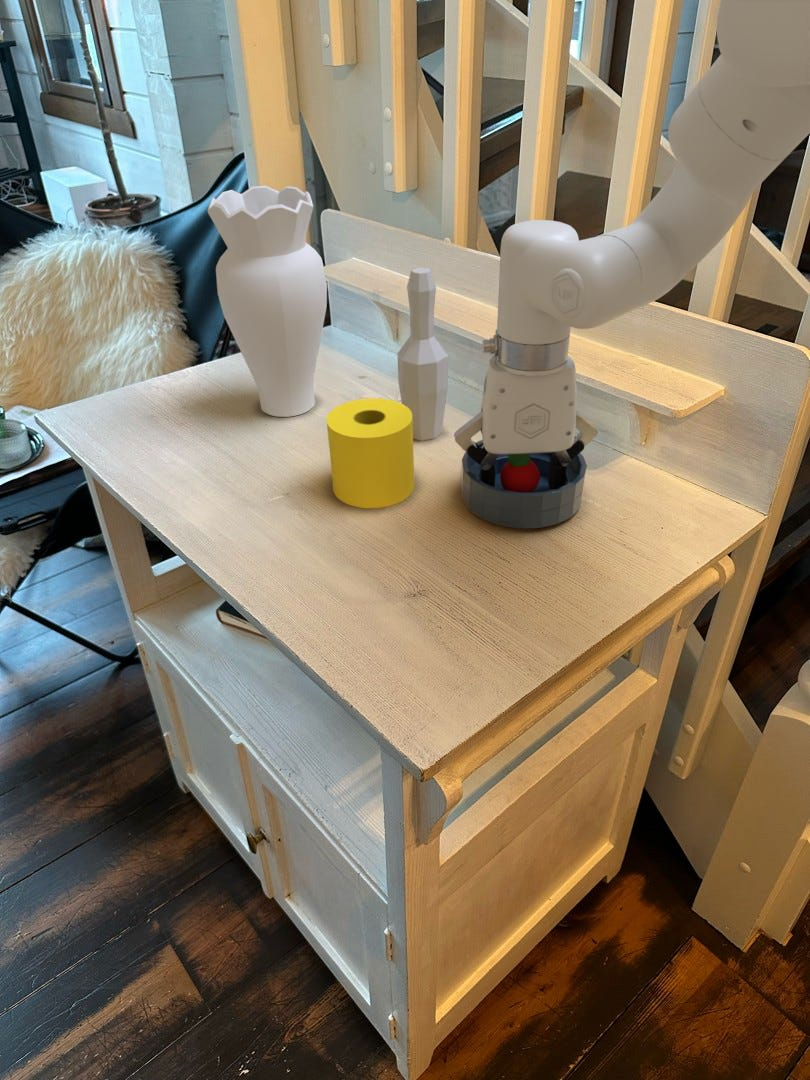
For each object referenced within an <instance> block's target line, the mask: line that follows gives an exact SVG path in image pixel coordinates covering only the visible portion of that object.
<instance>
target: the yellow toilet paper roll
mask: <svg viewBox="0 0 810 1080" xmlns="http://www.w3.org/2000/svg"><path fill="white" fill-rule="evenodd" d="M326 426H327V427H326V428H327V438H328V447H329V449H328V450H329V458H330V459H329V460H330V468H331V477H332V487H333V488H332V489H333V493H334V495H335V496H336V498H337V499H338V500H339V501H341V502H342V503H344V504H346V505H348V506H351V507H354V508H360V509H381V508H387V507H391V506H394V505H397V504H400V503H401V502H403V501H404V500H406V499H407V498H408V497H410V495H412V493H413V491H414V490H415V463H414V462H415V461H414V459H415V458H414V438H413V419H412V412H411V410H410V409H409V408H408V407H407V406H405V405H403V404H402V402H399V401H396V400H393V399H387V398H378V397H373V398H372V397H369V398H360V399H359V398H358V399H355V400H350V401H347V402H344V403H341V404H339V405H338V406H335V407H334V408H332V409H331V410H330V411H329V412H328V414H327V416H326Z"/></svg>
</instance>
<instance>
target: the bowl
mask: <svg viewBox="0 0 810 1080" xmlns="http://www.w3.org/2000/svg"><path fill="white" fill-rule="evenodd" d="M475 443H477V444H478V445H479V446H480V447H482V446H483V439H481V440H478V441H476V442H475ZM554 453H555V452H549V453H529V454H530V458H531V461H532V462H534V463H535V464H536V466H537V467H538V470H539V473H540V480H539V484H538V486H537V488H536V489H535V490H534V491H533V492H532V493H520V492H513V491H506V490H505V489H504V488H503V486H502V484H501V480H500V475H501V471H502V468H503V466H504V465H505V464H506V463H507V462H508V456H509V455H510V454H499V455H498V457H497V458H496V460H495V461H494V467H495V487H492V486H489V485H487V484H485V483H484V482H482V481H480V475H481V466H480V465H479V464H478V463H477V462H476V461H474V460H473V459H472V458H471V457H470V456H469V455H468V454H467V452H466V451H465V452H464V454H463V456H462V458H461V479H460V480H461V482H460V489H461V491H460V493H461V501H462V502H463V504H464V505H465V506H466V508H467V509H468V510H469V512H471V513H473V515H475V516H477V517H479V518H480V519H481V520H484V521H486V522H489V523H492V524H495V525H498V526H501V527H507V528H514V529H541V528H545V527H546V528H547V527H550V526H554V525H558V524H561V523H562V522H564V521H567V520H568V519H570V518H572V517H574V515H575V514H576V513H577V512H578V511H579V510H580V509H581V507H582V503H583V499H584V493H585V492H584V491H585V485H586V478H587V470H588V469H587V468H588V464H587V462H586V459H585V457H584V455H583V454H582V452H580V453H579V454H578V455H577V456H576V457H574V458H573V459H572V460H571V463H570V465H569V466H567V467H566V476H565V484H564V486H560V488H558V489H554V490H550V487H549V484H548V479H549V469H550V458H551V457H552V454H554Z"/></svg>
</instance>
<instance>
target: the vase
mask: <svg viewBox="0 0 810 1080" xmlns="http://www.w3.org/2000/svg"><path fill="white" fill-rule="evenodd" d="M313 210H314V203H313V200H312V196H311V194H310V192H308V190H307V191H305V192H304V191H302V190H301V189H300V188H299V187H298V186H291V185H285V187H284V188H282V189H280V190H276V189H274V188H272V187H269V186H268V185H256V186H252V187H250V188H248V189H246V190H245V191H244V192H242V193H240V192H237V191H235V190H233V189H229V190H226V191H222V192H221V193H220V194H219V195H218V196H217V197H216V198H215V197H212V198H211V200H210V202H209V205H208V207H207V211H206V212H207V214H208V216H209V217H210V219H211V221H212V223H213V224H214V226H215V228H216V229H217V231H218V233H219V235H220V237H221V238H222V240H223V242H224V244H225V246H226V247H227V249H226V250H225V251H224V252H223V254H222V255H221V256H220V257H219V259H218V261H217V264H216V266H215V276H216V289H217V290H216V291H217V296H218V300H219V304H220V307H221V311H222V314H223V317H224V319H225V321H226V324H227V326H228V328H229V330H230V332H231V334H232V336H233V338H234V340H235V343H236V344H237V347H238V349H239V351H240V353H241V354H242V358H243V359H244V361H245V364H246V365H247V368H248V370H249V372H250V375H251V376H252V379H253V380H254V382H255V385H256V388H257V391H258V396H259V398H258V399H259V404H260V409H261V410H262V412H264V413H265V414H267V415H268V416H272V417H276V418H277V417H278V418H289V417H295V416H296V417H297V416H300V415H302V414H305V413H308V412H309V411H310V410H311V409H313V407H314V406H315V404H316V399H315V390H314V380H315V379H314V378H315V372H316V367H317V361H318V356H319V350H320V346H321V340H322V334H323V329H324V324H325V317H326V313H327V306H328V305H327V304H328V284H327V278H326V273H325V266H324V263H323V258H322V257H321V255H320V254H319V253H318V252H317V250H316V249H315V248H314V247H312V246H311V245H310V244H309V243H307V233H308V229H309V225H310V221H311V218H312V214H313Z"/></svg>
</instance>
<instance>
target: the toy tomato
mask: <svg viewBox="0 0 810 1080" xmlns="http://www.w3.org/2000/svg"><path fill="white" fill-rule="evenodd" d="M500 480H501V484H502V486H503V488H504V489H505V490H506V491H513V492H520V493H532V492H533V491H534V490H535V489H536V488H537V486H538V484H539V480H540V473H539V470H538V467H537V466H536V464H535V463H534V462H532V461H531V458H530V454H510V455H509V456H508V462H507V463H506V464H505V465H504V466H503V468H502V471H501V475H500Z"/></svg>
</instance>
